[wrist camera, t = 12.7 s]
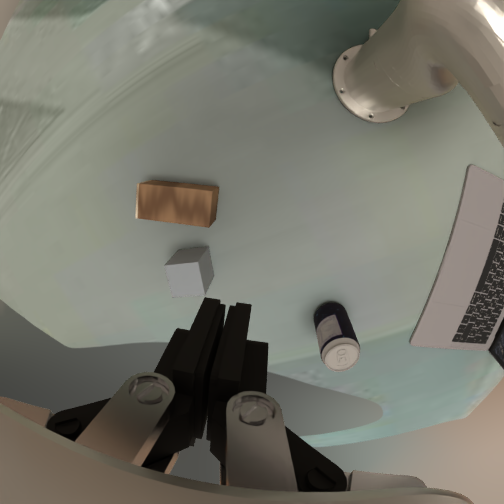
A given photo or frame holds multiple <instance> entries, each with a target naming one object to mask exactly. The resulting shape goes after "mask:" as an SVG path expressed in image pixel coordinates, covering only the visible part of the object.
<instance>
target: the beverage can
mask: <svg viewBox="0 0 504 504" xmlns="http://www.w3.org/2000/svg"><path fill="white" fill-rule="evenodd" d="M314 323H315V328H316V334H317V339H318V344H319V349H320V354H321V359H322V361H323V362H324V364H326V366H327V367H328V368H329V369H330V370H332V371H337V372H340V371H345V370H348V369H350V368H352V367H353V366H354V365H355V364H356V363H357V361H358V359H359V353H360V345H359V343H358V340H357V337H356V335H355V332H354V330H353V327H352V324H351V322H350V319H349V317H348V314H347V312H346V310H345V308H344V307H343V306H342V305H340V304H337V303H327V304H325V305H323V306H321V307H320V308H319V309H318V310H317V311H316V313H315V315H314Z"/></svg>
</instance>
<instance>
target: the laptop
mask: <svg viewBox="0 0 504 504" xmlns="http://www.w3.org/2000/svg"><path fill="white" fill-rule="evenodd" d="M410 344H411V345H412V346H420V347H432V348H446V349H462V350H484V351H485V350H488V351H489V352H490V353H491V355H492V356H493V357H494V358H495V359H496V361H497V362H498V363H499V364H500V366H501V367H502V368H503V369H504V180H502V179H500V178H499V177H497V176H495V175H493V174H491V173H489V172H487V171H485V170H483V169H481V168H479V167H477V166H475V165H469V166H468V167H467V171H466V176H465V181H464V185H463V190H462V194H461V198H460V202H459V206H458V210H457V214H456V218H455V221H454V225H453V228H452V232H451V235H450V238H449V242H448V245H447V248H446V251H445V254H444V257H443V260H442V263H441V266H440V268H439V271H438V274H437V277H436V279H435V282H434V285H433V287H432V290H431V292H430V295H429V297H428V300H427V302H426V304H425V307H424V309H423V312H422V314H421V316H420V318H419V321H418V323H417V325H416V327H415V329H414V332H413V334H412V336H411V338H410Z"/></svg>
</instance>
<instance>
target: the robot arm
mask: <svg viewBox="0 0 504 504" xmlns="http://www.w3.org/2000/svg"><path fill="white" fill-rule="evenodd" d="M343 58H345V59H346V60H344V59H343ZM458 83H460V84H461V86H462V87H463V88H464V89H465V90H466V91H467V93H468V94H469V95H470V97H471V98H472V100H473V101H474V103H475V104H476V105H477V107H478V108H479V110H480V111H481V113H482V114H483V116H484V117H485V119H486V120H487V122H488V124H489V125H490V127H491V128H492V130H493V131H494V133H495V135H496V136H497V138H498V140H499V141H500V143H501V144H502V146H503V147H504V0H400V2H399V4H398V6H397V7H396V9H395V10H394V11H393V13H392V14H391V15H390V16H389V18H388V19H387V20H386V21H385V22H384V23H383V24H382V25H381V27H380V28H379V29H378V30H375V29H369V40H368V41H366V42H365V43H364V45H358V46H354V47H351V48H349V49H347V50H346V51H345V52H344V53H342V54H341V56H340V57H339V58H338V60H337V62H336V63H335V66H334V69H333V85H334V89H335V92H336V94H337V96H338V98H339V100H340V101H341V102H342V104H343V105H344V106H345V107H346V108H347V109H348V110H349V111H350V112H351V113H352V114H354V115H355V116H357V117H359V118H361V119H363V120H365V121H369V122H374V123H385V122H389V121H393V120H395V119H397V118H399V117H400V116H401V115H403V114H404V113H405V112H406V110H407V109H408V107H409V105H410V104H413V103H416V102H419V101H423V100H427V99H430V98H434V97H438V96H441V95H444V94H446V93H448V92H450V91H451V90H452V89H453V88H455V87H456V85H457V84H458ZM340 91H342V92H343V93H342V94H341V93H340ZM400 107H401V108H402V109H401V108H400ZM369 115H371V118H369ZM251 306H252V305H251V304H244V303H238V302H237V303H236V306H231V305H230V307H229V311H228V314H227V318H226V321H225V325H224V317H225V304H220V300H218V299H212V298H206V297H205V298H204V300H203V302H202V304H201V307H200V309H199V311H198V313H197V315H196V318H195V320H194V322H193V324H192V326H191V329H190V330H185V329H180V328H177V329H176V330H175V332H174V334H173V336H172V338H171V340H170V342H169V344H168V346H167V348H166V349H165V351H164V353H163V355H162V357H161V359H160V361H159V363H158V365H157V367H156V369H155V371H154V372H143V373H138V374H136V375H133V376H131V377H130V378H129V379H128V380H126V381H125V383H124V384H123V385H122V386H121V387H120V389H119V390H118V391H117V392H116V393H115V394H114V396H113V397H112V398H109V399H105V400H102V401H98V402H94V403H90V404H87V405H83V406H79V407H75V408H72V409H67V410H63V411H60V412H58V413H56V414H52V412H51V410H48V409H44V408H41V407H37V406H33V405H29V404H26V403H23V402H19V401H16V400H13V399H9V398H6V397H0V504H474V503H473V502H472V501H471V500H470V499H468V498H467V497H465V496H464V495H462V494H459V493H456V492H452V491H448V490H442V489H435V488H427V487H426V485H425V484H424V482H423V481H422V480H420V479H419V478H417V477H414V476H408V475H392V474H381V473H371V472H362V471H356V470H353V471H352V472H351V473H347V472H343V470H341V469H340V468H339V467H338V466H337V465H336V464H334V463H333V462H331V461H330V460H329V459H327V458H326V457H325V456H323V455H322V454H321V453H319V452H318V451H317V450H315V449H314V448H313V447H311V446H310V445H309V444H307V443H306V442H305V441H304V440H302V439H301V438H300V437H298V436H297V435H296V434H295V433H293V432H292V431H291V430H290V429H288V428H287V427H286V426H285V425H284V421H283V415H282V410H281V408H280V405H279V404H278V403H277V401H276V400H275V399H274V398H272V397H271V396H269V395H267V394H266V383H267V363H268V343H265V342H258V341H251V340H247V333H248V326H249V320H250V313H251ZM223 327H224V328H223ZM207 416H208V420H207ZM206 420H207V440H209V441H211V443H210V451H211V453H212V454H213V455H214V456H215V457H216V458H217V459H218V460H219V461H220V485H218V484H212V483H206V482H201V481H196V480H191V479H186V478H182V477H178V476H173V475H169V474H170V472H171V470H172V468H173V466H174V464H175V462H176V460H177V458H178V456H179V451H181V450H183V449H185V448H188V447H189V446H194V443H195V439H196V438H199V439H202V436H203V432H204V428H205V424H206Z"/></svg>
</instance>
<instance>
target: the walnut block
mask: <svg viewBox="0 0 504 504" xmlns="http://www.w3.org/2000/svg"><path fill="white" fill-rule="evenodd" d="M218 193H219V187H216V186H207V185H198V184H188V183H178V182H168V181H157V180H149V181H145V182H141V183H138V184H137V196H136V218H139V219H147V220H155V221H163V222H171V223H178V224H186V225H194V226H201V227H208V228H209V227H210V226H211V225H212V223H213V222H214V221H215V220H216V212H217V203H218Z"/></svg>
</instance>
